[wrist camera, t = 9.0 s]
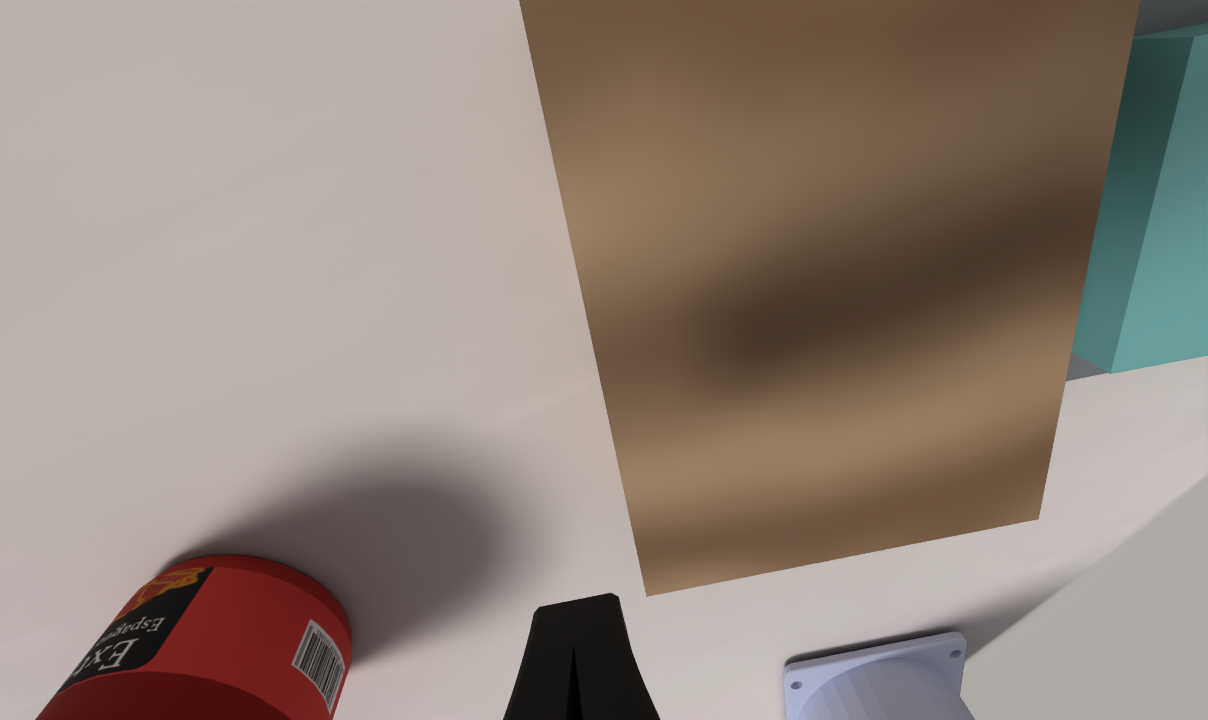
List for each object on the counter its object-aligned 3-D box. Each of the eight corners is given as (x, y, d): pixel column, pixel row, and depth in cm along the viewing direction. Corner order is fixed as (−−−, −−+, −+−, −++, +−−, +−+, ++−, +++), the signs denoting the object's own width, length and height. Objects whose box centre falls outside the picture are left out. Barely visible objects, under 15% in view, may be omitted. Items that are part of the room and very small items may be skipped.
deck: (957, 443, 22) (1038, 519, 18) (630, 508, 22) (646, 596, 18) (1015, -99, 14) (1169, -152, 11) (523, 2, 14) (515, -17, 11)
